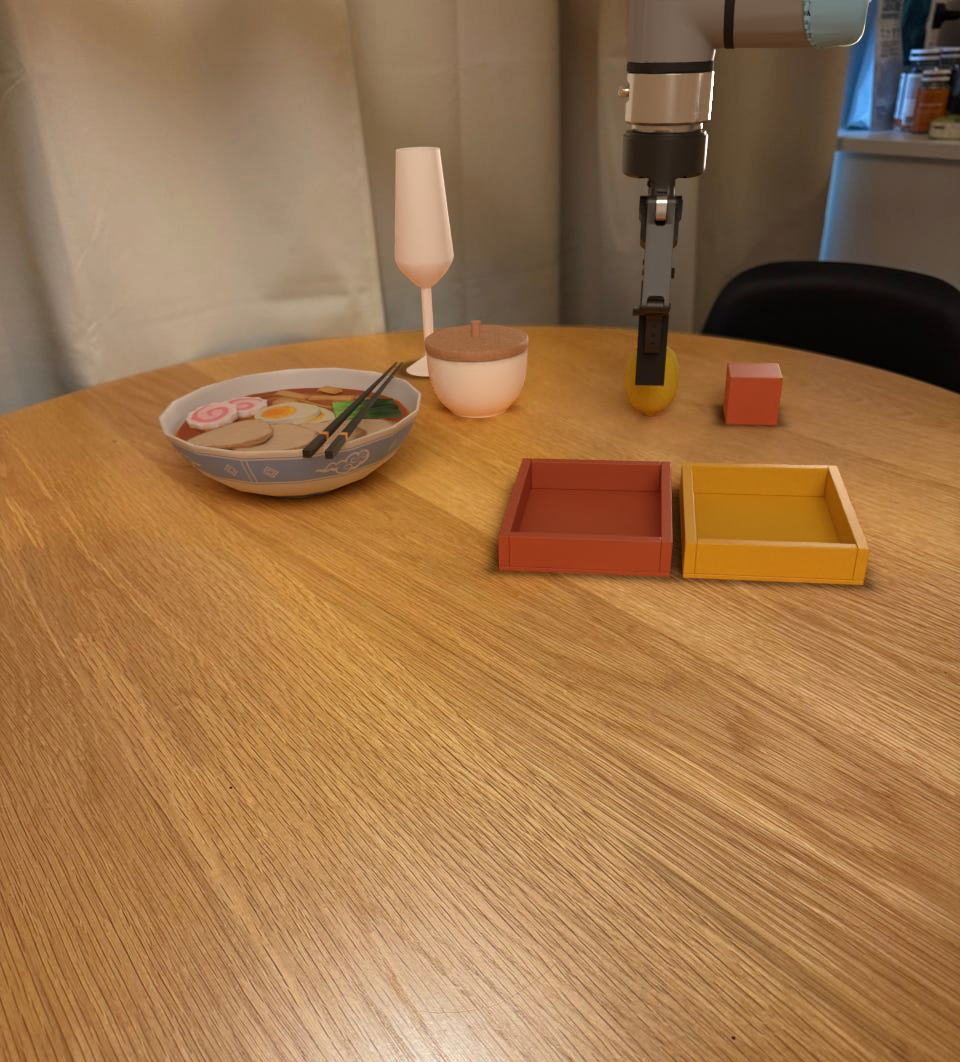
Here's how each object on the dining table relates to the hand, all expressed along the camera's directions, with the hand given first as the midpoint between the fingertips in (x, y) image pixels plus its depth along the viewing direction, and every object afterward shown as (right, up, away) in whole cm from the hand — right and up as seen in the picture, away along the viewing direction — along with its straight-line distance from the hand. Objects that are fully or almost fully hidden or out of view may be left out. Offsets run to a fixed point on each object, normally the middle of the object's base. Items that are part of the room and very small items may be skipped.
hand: (650, 364), depth 101 cm
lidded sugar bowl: (-17, -3, +6) cm, 19 cm away
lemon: (0, -5, +3) cm, 6 cm away
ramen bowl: (-33, -14, -9) cm, 37 cm away
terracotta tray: (-8, -19, -20) cm, 29 cm away
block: (+10, -5, +1) cm, 12 cm away
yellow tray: (+5, -20, -22) cm, 30 cm away
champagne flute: (-23, +4, +19) cm, 30 cm away
